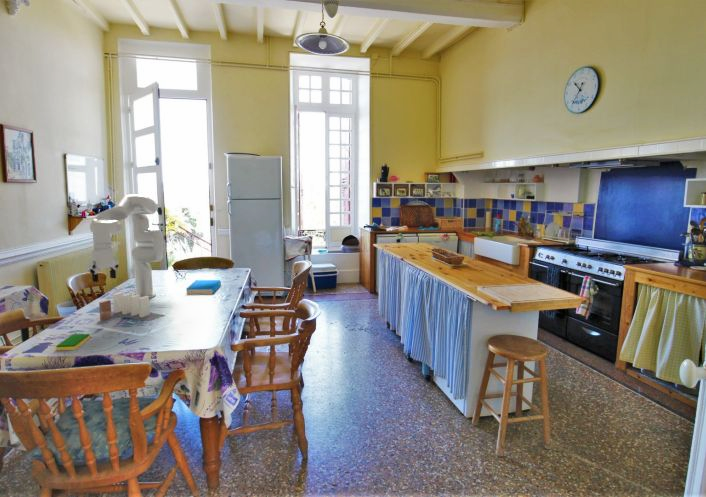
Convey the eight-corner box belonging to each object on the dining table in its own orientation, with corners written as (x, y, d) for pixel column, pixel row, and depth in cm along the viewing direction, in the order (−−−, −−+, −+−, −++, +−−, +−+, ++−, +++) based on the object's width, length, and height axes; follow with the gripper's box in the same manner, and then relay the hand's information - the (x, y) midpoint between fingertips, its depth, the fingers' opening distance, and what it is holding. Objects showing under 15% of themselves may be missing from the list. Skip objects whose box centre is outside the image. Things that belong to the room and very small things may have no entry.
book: (185, 288, 263) (195, 279, 287) (186, 295, 263) (195, 285, 288) (213, 288, 265) (220, 279, 289) (213, 295, 265) (221, 285, 290)
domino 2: (114, 312, 219) (112, 294, 218) (122, 310, 224) (121, 292, 222) (116, 312, 219) (115, 294, 217) (124, 310, 223) (123, 292, 222)
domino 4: (130, 315, 215) (129, 296, 214) (138, 312, 220) (137, 294, 218) (133, 315, 214) (132, 297, 213) (141, 313, 219) (140, 294, 218)
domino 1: (100, 321, 208) (99, 302, 206) (109, 318, 212) (108, 299, 211) (102, 321, 207) (101, 302, 206) (111, 319, 212) (110, 300, 210)
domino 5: (139, 317, 213) (138, 298, 211) (147, 314, 217) (146, 295, 216) (141, 317, 212) (140, 298, 211) (149, 314, 217) (148, 296, 215)
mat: (106, 315, 217) (105, 313, 217) (124, 309, 227) (124, 308, 227) (149, 323, 207) (149, 321, 207) (166, 316, 217) (166, 315, 217)
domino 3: (122, 314, 217) (121, 295, 216) (130, 311, 222) (129, 293, 220) (124, 314, 216) (123, 295, 215) (132, 311, 221) (131, 293, 220)
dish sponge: (56, 351, 171) (55, 345, 171) (73, 339, 185) (72, 334, 184) (75, 350, 172) (74, 345, 172) (90, 338, 186) (89, 333, 185)
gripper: (112, 243, 214) (114, 276, 216) (80, 247, 198) (82, 282, 200) (123, 244, 212) (124, 277, 214) (91, 248, 195) (93, 284, 198)
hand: (104, 279), depth 207 cm, fingers open, 9 cm apart
